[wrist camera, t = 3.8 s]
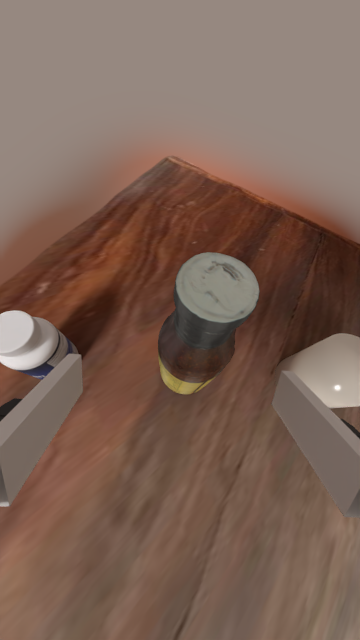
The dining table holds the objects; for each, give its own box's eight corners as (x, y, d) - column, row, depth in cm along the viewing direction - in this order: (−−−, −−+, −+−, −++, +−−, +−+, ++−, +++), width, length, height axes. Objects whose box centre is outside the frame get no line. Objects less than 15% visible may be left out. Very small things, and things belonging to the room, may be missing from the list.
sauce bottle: (199, 344, 29) (263, 226, 12) (212, 389, 27) (321, 326, 9) (153, 354, 28) (146, 238, 10) (163, 402, 26) (176, 358, 8)
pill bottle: (24, 375, 25) (-45, 351, 17) (47, 335, 28) (-3, 296, 19) (67, 386, 25) (19, 368, 17) (86, 346, 28) (54, 311, 19)
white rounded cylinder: (285, 347, 30) (330, 321, 22) (330, 375, 29) (396, 358, 21) (266, 389, 28) (311, 375, 20) (316, 421, 26) (386, 421, 18)
